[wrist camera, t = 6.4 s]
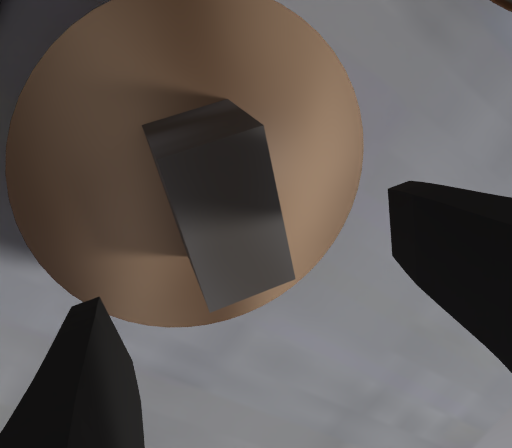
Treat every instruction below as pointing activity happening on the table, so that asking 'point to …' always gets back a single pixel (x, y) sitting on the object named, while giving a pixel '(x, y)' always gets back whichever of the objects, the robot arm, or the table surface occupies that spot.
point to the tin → (504, 4)
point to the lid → (184, 157)
